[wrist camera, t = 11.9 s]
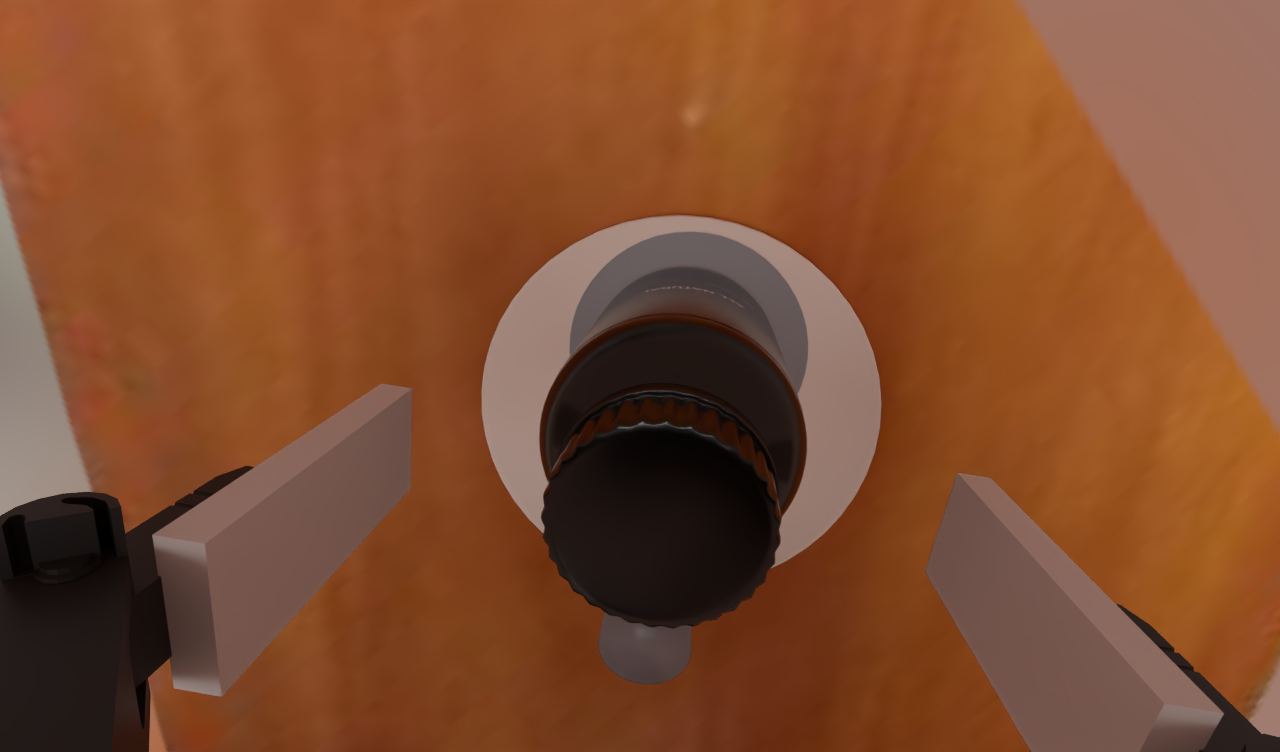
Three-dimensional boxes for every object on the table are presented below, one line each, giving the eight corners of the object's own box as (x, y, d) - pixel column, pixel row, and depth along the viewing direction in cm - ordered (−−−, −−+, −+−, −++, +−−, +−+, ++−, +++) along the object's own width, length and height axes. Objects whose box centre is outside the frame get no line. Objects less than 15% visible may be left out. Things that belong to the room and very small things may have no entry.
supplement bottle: (725, 229, 22) (755, 300, 10) (802, 392, 23) (900, 609, 12) (559, 314, 23) (425, 457, 12) (642, 461, 25) (596, 710, 14)
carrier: (823, 598, 28) (869, 759, 20) (481, 541, 29) (403, 676, 21) (923, 246, 23) (1035, 288, 15) (499, 186, 23) (403, 197, 16)
